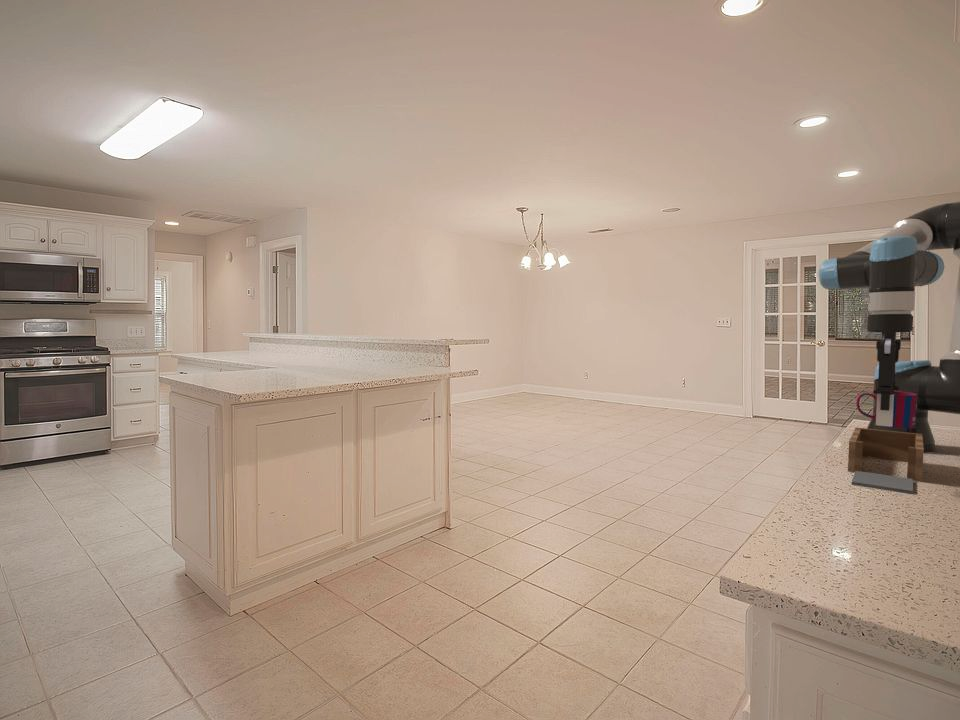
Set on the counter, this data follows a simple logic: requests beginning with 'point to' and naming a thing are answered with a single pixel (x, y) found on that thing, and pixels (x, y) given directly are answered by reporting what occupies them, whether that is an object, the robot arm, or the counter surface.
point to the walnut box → (887, 449)
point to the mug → (898, 409)
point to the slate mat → (883, 482)
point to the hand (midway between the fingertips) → (884, 422)
